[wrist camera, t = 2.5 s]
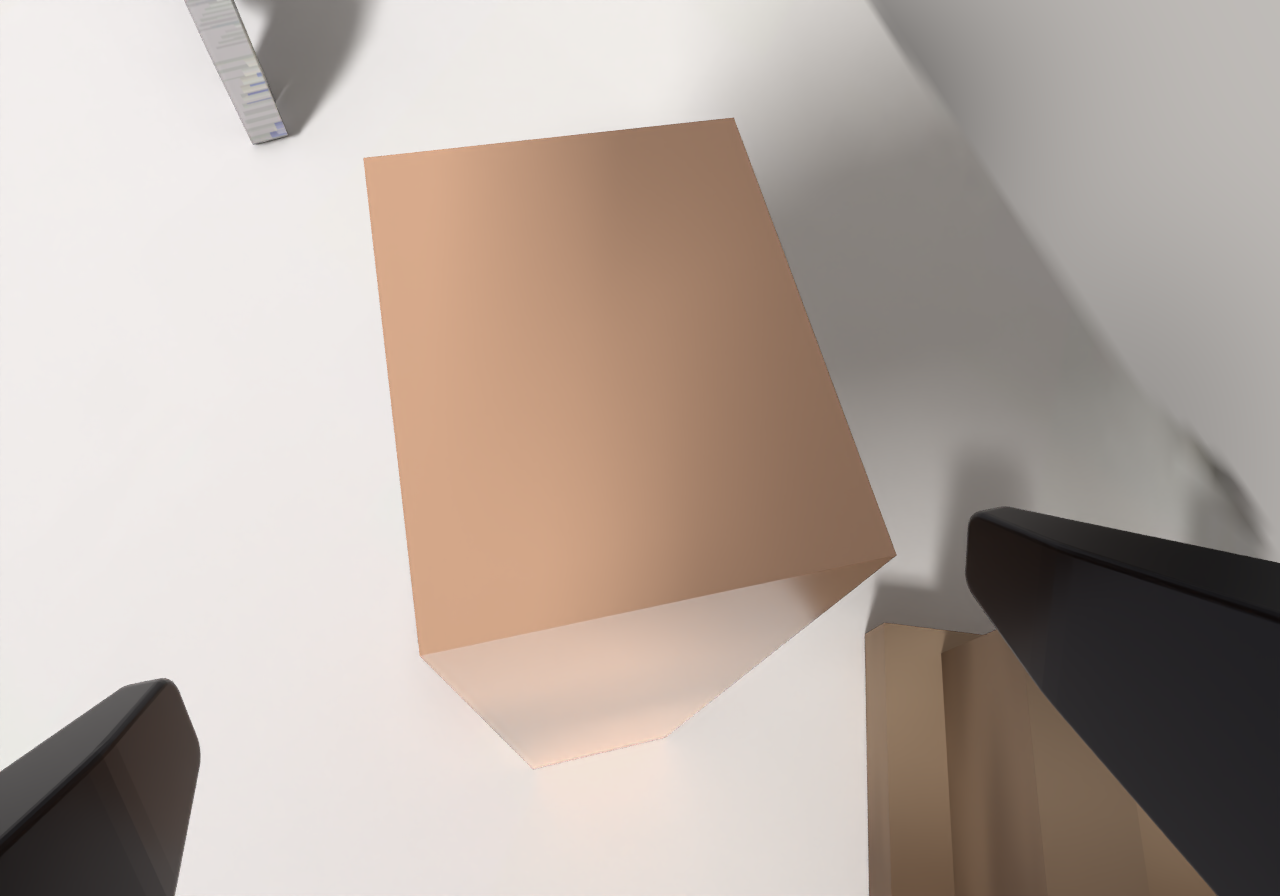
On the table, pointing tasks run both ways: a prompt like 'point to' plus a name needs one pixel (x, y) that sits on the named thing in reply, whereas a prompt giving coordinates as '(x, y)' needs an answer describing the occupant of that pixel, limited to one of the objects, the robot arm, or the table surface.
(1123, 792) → the slot rack
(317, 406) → the table surface
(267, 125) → the caliper
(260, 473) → the table surface
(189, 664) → the table surface
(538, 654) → the clay block
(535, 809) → the table surface
